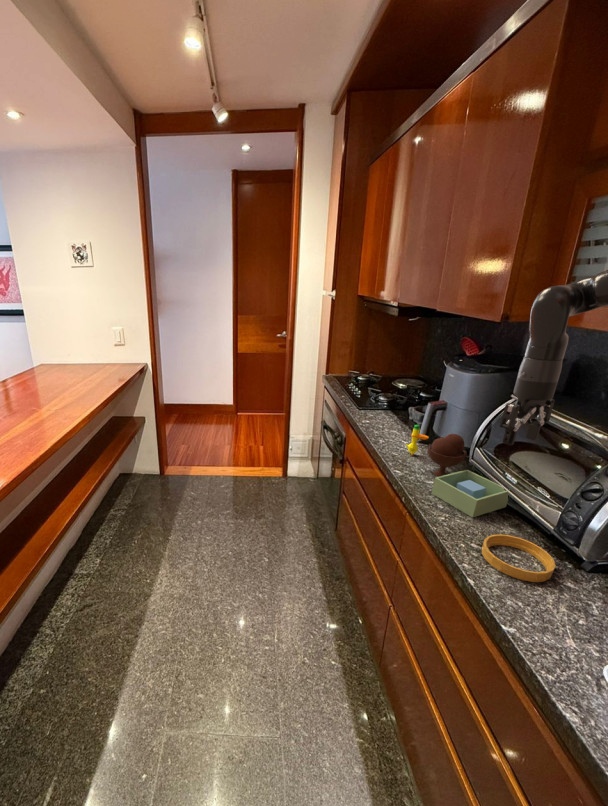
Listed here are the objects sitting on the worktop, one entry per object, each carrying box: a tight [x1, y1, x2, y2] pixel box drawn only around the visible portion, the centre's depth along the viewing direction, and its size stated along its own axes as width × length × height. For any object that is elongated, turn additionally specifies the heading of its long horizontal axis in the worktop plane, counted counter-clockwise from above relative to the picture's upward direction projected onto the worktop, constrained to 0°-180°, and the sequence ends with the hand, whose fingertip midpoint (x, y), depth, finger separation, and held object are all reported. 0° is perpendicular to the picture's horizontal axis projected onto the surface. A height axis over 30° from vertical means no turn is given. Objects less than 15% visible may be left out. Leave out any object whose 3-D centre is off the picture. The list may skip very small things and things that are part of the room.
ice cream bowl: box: [427, 433, 468, 477], centre depth 122 cm, size 11×11×15 cm
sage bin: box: [431, 469, 509, 518], centre depth 110 cm, size 13×13×6 cm
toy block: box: [456, 480, 486, 499], centre depth 110 cm, size 5×5×5 cm
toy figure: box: [405, 424, 429, 456], centre depth 136 cm, size 7×4×12 cm, turn 58°
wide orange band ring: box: [481, 533, 557, 583], centre depth 87 cm, size 13×13×3 cm
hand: (519, 441), depth 95 cm, fingers open, 8 cm apart
